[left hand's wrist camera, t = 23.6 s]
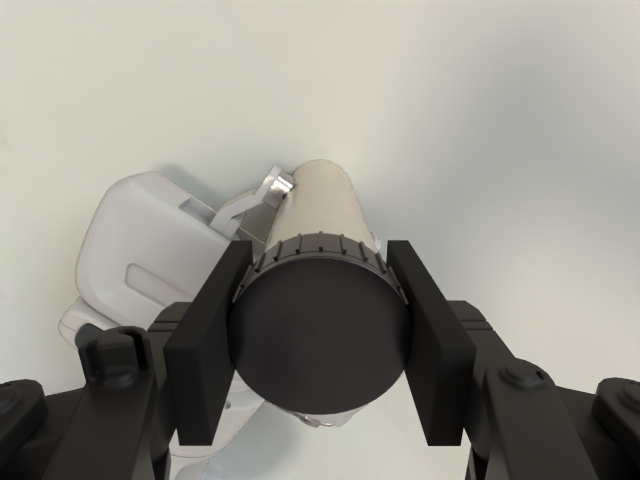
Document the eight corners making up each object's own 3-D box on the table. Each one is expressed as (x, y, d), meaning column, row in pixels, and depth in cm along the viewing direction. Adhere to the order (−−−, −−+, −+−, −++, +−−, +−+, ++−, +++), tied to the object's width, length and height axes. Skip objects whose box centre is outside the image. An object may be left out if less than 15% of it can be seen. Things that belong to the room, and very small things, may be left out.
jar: (274, 186, 27) (206, 312, 11) (325, 146, 26) (335, 217, 10) (314, 234, 29) (307, 412, 12) (364, 197, 28) (430, 336, 11)
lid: (204, 313, 12) (184, 349, 10) (314, 193, 11) (312, 211, 9) (324, 400, 13) (325, 445, 11) (436, 303, 12) (456, 336, 10)
